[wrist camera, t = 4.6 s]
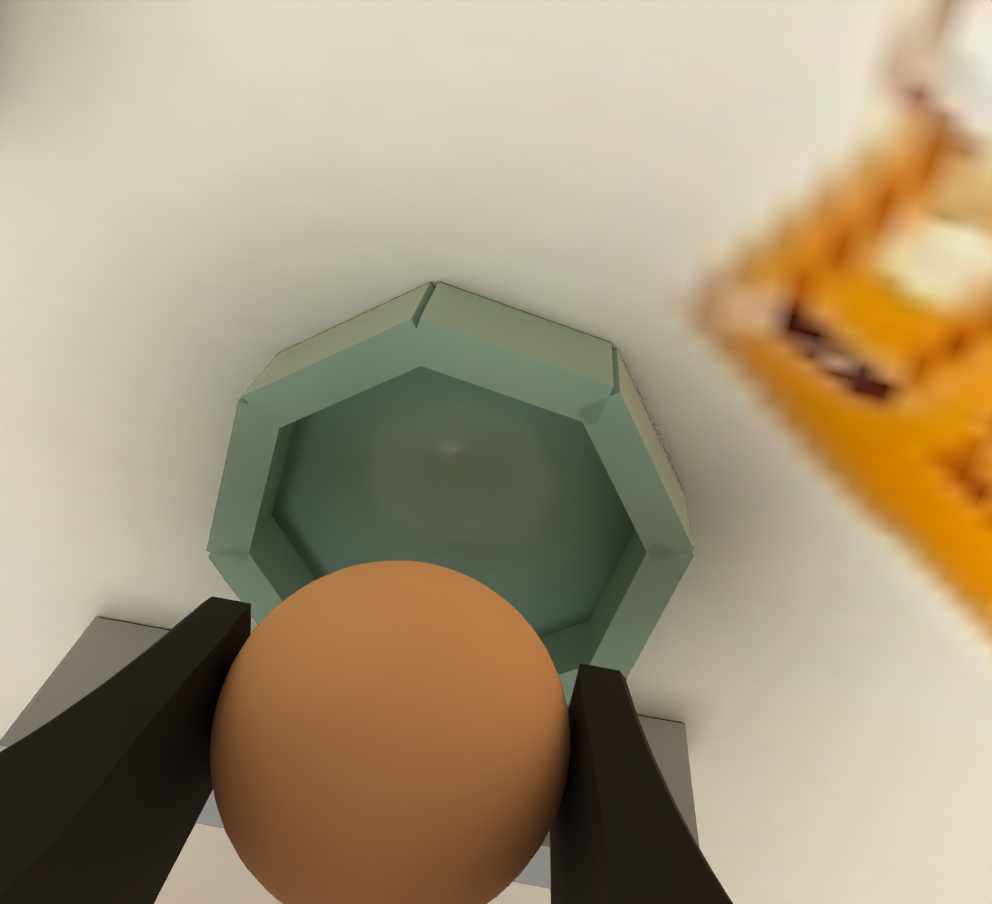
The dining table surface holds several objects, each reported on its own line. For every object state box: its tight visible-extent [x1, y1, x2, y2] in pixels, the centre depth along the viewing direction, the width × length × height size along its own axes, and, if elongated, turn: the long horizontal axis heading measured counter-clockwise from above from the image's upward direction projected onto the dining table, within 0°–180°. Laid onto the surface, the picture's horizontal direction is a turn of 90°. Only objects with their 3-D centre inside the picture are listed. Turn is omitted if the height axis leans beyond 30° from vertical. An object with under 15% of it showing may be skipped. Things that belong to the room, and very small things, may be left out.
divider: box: [0, 617, 699, 889], centre depth 20 cm, size 14×1×4 cm, turn 82°
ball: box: [210, 560, 571, 904], centre depth 13 cm, size 5×5×5 cm
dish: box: [207, 282, 693, 705], centre depth 18 cm, size 9×9×2 cm
